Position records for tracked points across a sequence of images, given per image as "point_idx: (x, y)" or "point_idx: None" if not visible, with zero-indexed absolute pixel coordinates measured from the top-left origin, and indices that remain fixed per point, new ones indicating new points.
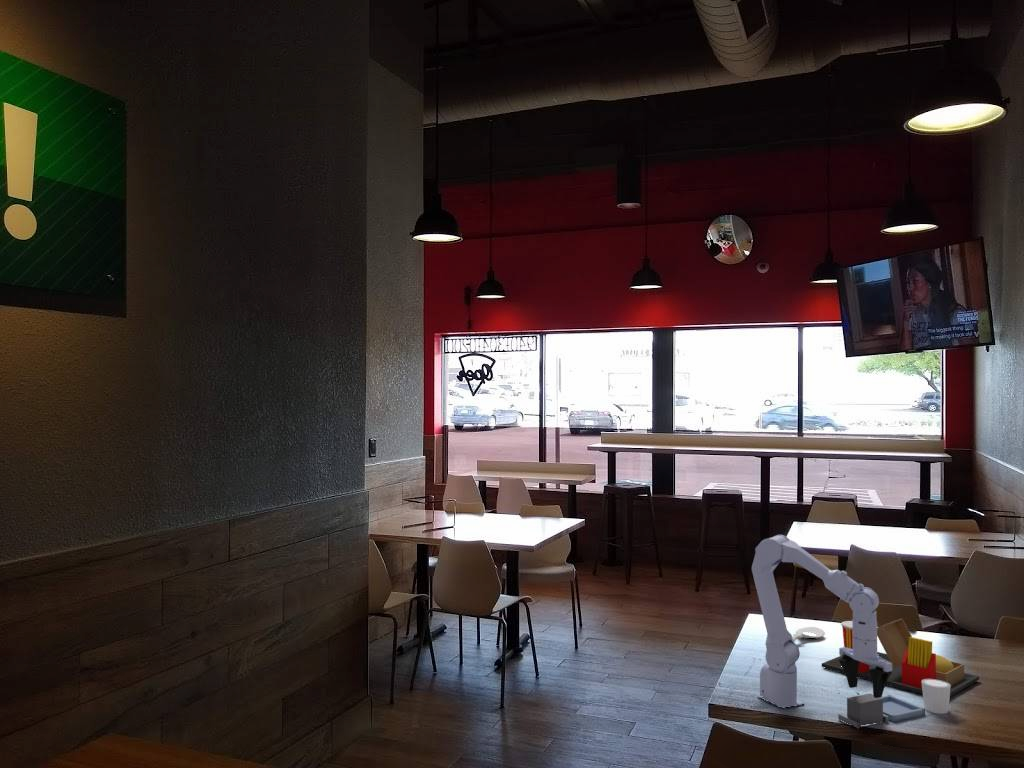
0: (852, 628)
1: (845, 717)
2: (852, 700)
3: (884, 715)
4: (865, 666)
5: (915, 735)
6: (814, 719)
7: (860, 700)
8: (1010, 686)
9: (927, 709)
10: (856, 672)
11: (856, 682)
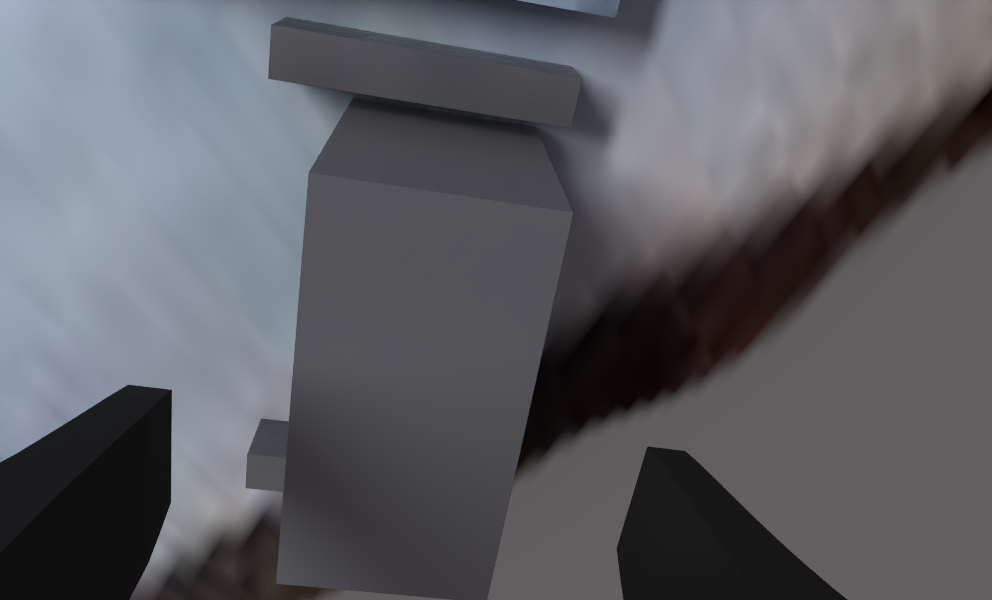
0: None
1: None
2: (368, 591)
3: (540, 101)
4: None
5: (913, 162)
6: (147, 590)
7: (425, 521)
8: None
9: None
10: (37, 563)
11: (141, 437)
